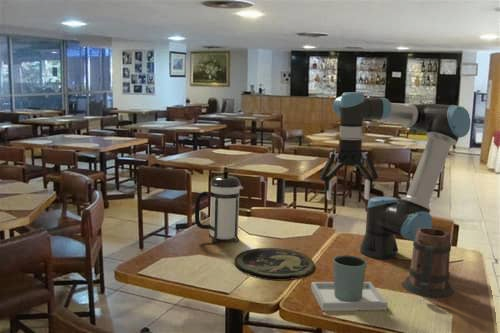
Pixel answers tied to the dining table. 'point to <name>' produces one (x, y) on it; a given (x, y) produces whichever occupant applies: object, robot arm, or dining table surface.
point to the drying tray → (331, 303)
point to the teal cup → (349, 277)
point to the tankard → (430, 264)
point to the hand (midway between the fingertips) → (347, 199)
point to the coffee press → (222, 207)
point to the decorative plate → (274, 263)
